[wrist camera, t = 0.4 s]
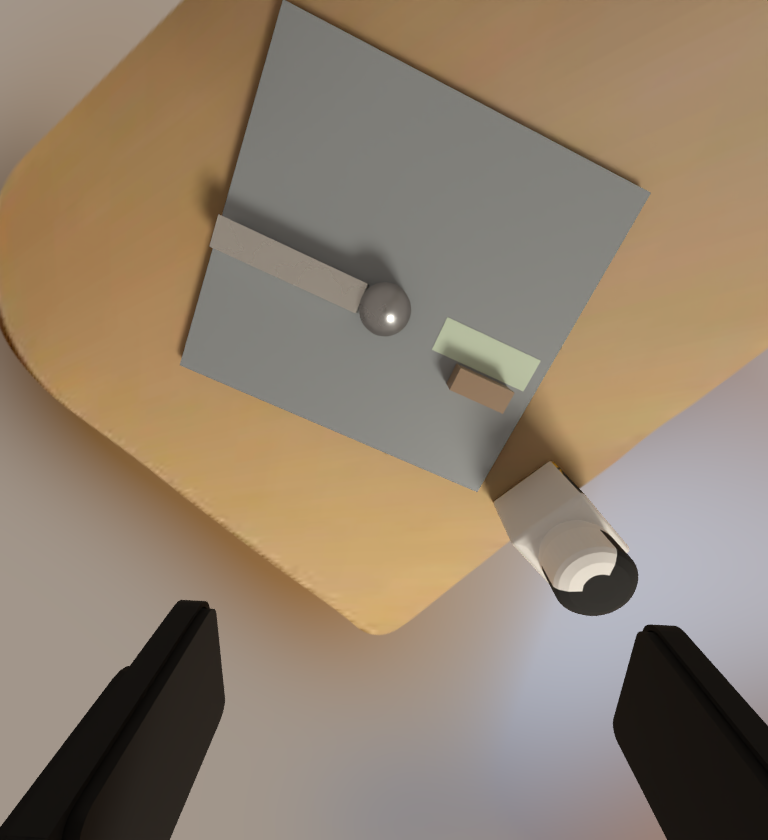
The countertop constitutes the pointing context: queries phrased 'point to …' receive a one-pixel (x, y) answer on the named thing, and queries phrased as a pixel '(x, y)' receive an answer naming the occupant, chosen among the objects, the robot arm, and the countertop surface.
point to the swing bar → (316, 277)
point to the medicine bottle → (568, 542)
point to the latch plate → (403, 253)
